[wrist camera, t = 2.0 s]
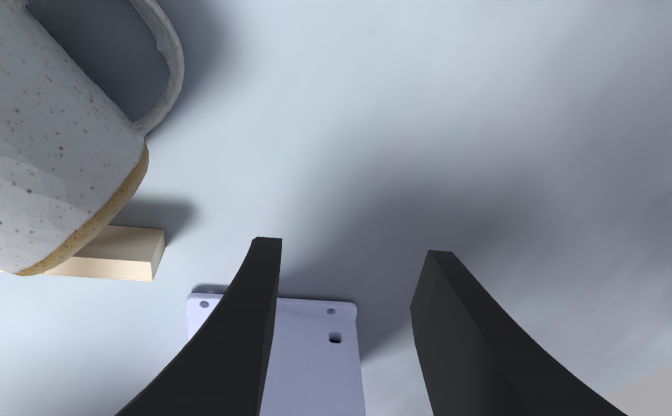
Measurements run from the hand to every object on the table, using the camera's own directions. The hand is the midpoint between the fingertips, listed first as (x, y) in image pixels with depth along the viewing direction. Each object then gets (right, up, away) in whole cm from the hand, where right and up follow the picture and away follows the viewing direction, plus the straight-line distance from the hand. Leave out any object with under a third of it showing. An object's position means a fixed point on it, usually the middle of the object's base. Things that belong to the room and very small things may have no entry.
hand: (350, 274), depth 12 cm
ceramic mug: (-11, +7, +7) cm, 15 cm away
